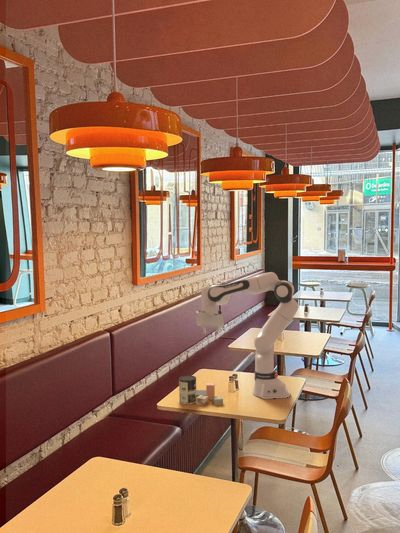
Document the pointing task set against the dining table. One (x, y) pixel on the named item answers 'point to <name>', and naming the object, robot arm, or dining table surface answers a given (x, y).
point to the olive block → (218, 400)
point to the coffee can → (187, 389)
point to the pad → (200, 392)
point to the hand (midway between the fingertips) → (211, 333)
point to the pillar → (210, 390)
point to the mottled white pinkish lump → (202, 400)
